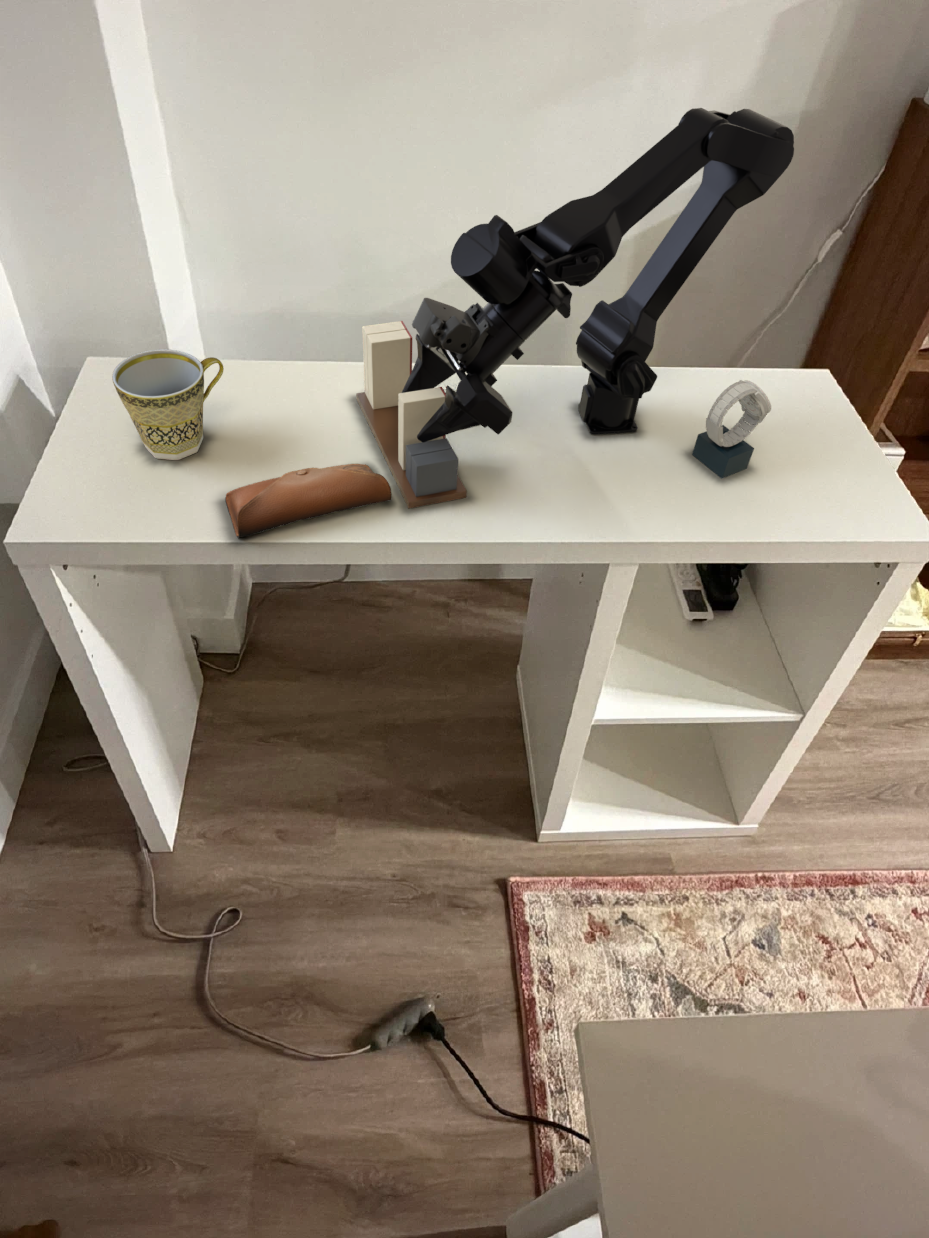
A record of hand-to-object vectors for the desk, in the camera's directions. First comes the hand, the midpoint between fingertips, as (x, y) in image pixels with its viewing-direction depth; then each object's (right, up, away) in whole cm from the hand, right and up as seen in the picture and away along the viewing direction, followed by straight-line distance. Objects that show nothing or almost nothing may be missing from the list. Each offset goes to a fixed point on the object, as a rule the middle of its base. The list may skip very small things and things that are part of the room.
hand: (409, 421), depth 99 cm
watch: (+39, -3, +10) cm, 40 cm away
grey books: (+2, -7, +3) cm, 8 cm away
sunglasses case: (-12, -9, +1) cm, 15 cm away
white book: (+1, -4, +5) cm, 6 cm away
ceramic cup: (-28, -1, +7) cm, 29 cm away
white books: (-4, +6, +14) cm, 15 cm away
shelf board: (-1, -1, +9) cm, 9 cm away
